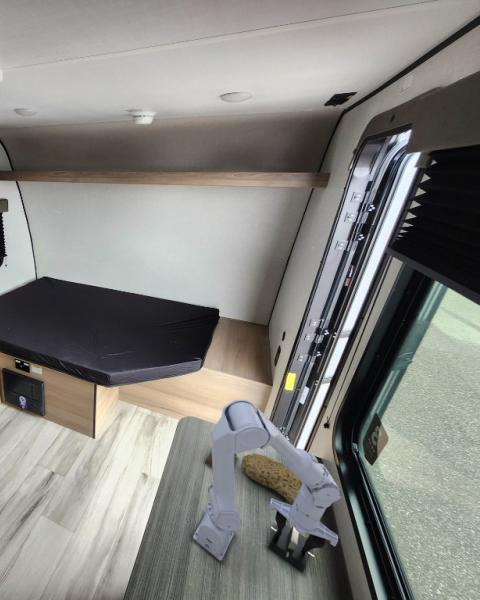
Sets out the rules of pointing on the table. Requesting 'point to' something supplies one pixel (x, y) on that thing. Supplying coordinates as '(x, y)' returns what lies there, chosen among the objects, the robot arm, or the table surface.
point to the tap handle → (293, 539)
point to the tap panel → (280, 548)
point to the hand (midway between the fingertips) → (292, 540)
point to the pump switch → (209, 459)
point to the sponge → (272, 475)
